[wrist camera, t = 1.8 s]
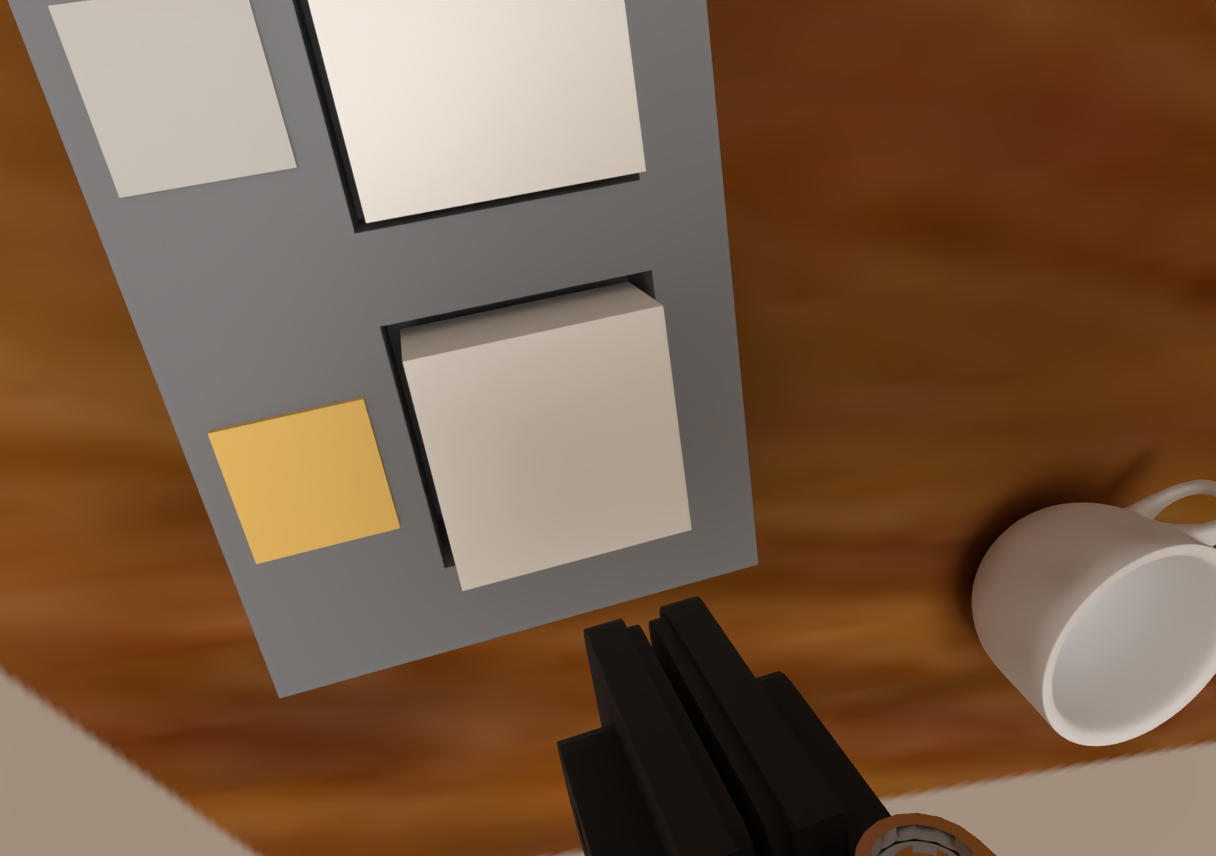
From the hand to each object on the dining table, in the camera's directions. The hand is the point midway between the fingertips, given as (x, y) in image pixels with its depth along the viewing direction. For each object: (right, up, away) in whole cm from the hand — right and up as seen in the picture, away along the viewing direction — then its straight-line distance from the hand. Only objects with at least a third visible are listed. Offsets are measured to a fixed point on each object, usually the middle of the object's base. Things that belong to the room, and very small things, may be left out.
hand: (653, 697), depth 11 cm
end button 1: (-3, +4, +11) cm, 12 cm away
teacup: (+16, -1, +20) cm, 26 cm away
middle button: (-4, +12, +7) cm, 15 cm away
